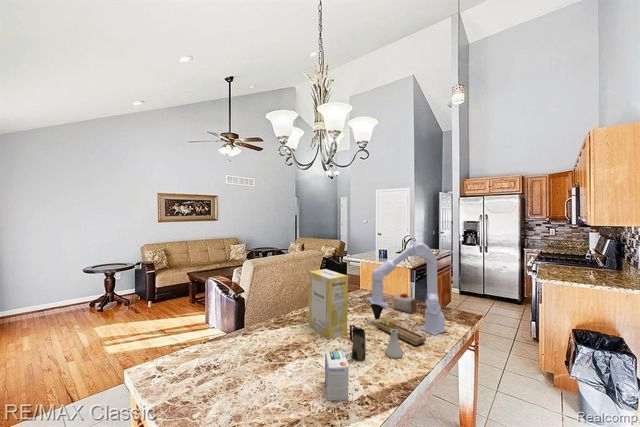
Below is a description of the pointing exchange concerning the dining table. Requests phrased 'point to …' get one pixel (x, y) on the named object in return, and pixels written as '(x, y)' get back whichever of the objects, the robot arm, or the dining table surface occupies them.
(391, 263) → the robot arm
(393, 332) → the flask
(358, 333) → the mug
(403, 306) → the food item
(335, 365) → the light bulb box
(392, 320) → the yellow block
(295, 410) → the dining table surface
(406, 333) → the brown rectangular tray
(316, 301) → the pasta box
